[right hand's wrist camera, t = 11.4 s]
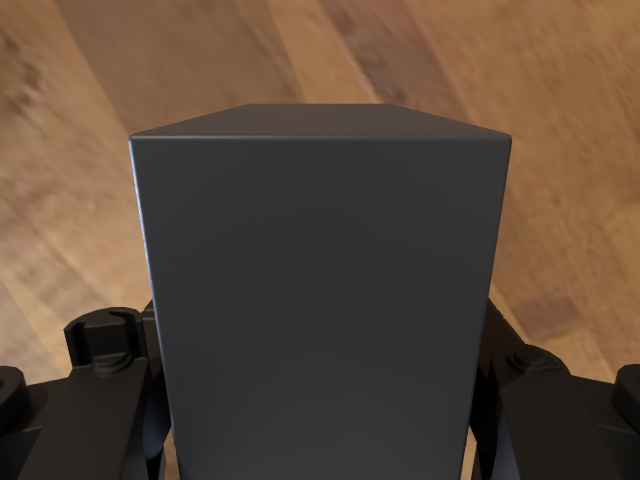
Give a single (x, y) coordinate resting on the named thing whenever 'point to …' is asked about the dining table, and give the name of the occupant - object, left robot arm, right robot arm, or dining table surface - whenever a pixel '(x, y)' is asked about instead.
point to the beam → (320, 286)
